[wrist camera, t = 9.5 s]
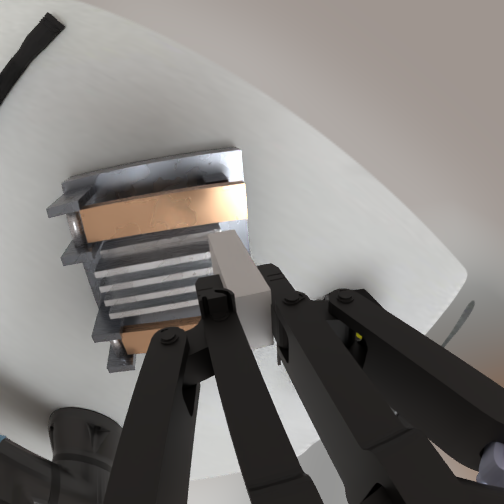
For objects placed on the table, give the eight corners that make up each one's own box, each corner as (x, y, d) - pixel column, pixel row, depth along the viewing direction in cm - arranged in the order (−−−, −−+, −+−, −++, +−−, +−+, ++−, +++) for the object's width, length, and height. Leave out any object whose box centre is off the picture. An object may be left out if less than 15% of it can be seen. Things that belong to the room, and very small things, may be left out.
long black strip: (68, 29, 21) (59, 22, 19) (-19, 147, 23) (-32, 151, 21) (53, 16, 20) (44, 9, 17) (-32, 133, 22) (-45, 136, 19)
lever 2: (129, 347, 31) (127, 354, 30) (120, 326, 30) (118, 333, 29) (255, 329, 33) (257, 336, 32) (253, 307, 32) (255, 314, 30)
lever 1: (91, 237, 25) (87, 243, 24) (83, 206, 24) (79, 210, 23) (245, 213, 27) (247, 218, 26) (242, 180, 26) (244, 183, 25)
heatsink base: (115, 328, 37) (108, 378, 29) (70, 177, 28) (38, 199, 20) (249, 305, 40) (269, 351, 32) (235, 146, 31) (257, 158, 24)
